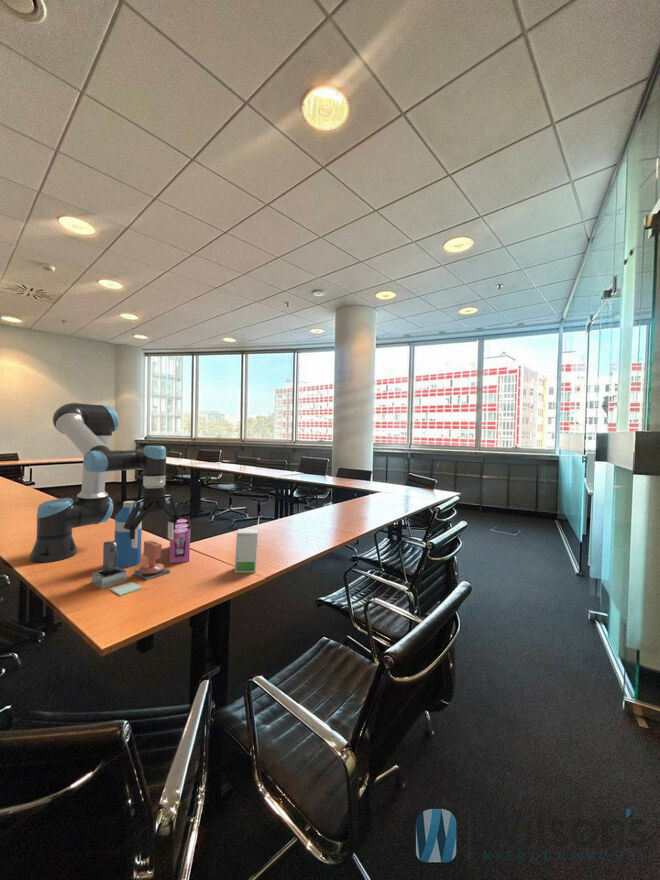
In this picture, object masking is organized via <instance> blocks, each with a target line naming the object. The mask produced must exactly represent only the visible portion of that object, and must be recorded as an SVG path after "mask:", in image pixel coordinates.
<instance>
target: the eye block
mask: <svg viewBox="0 0 660 880" xmlns="http://www.w3.org/2000/svg"><path fill="white" fill-rule="evenodd" d="M127 572H128V571H126V570H124V569H123V568H119V567H117V566H116V573H115V574H112V575H108V576H105V577H104V576H103V569H102V570H97V571H93V572H91V583H92V584H93V585H95V586H97V587H98V588H99V589H101V590H104V589H106V588H109V587H113V586H116V585H119V584H120V585H121V584H122V583H126V582H127V579H128V578H127V577H128V576H127V574H128V573H127Z"/></svg>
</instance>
